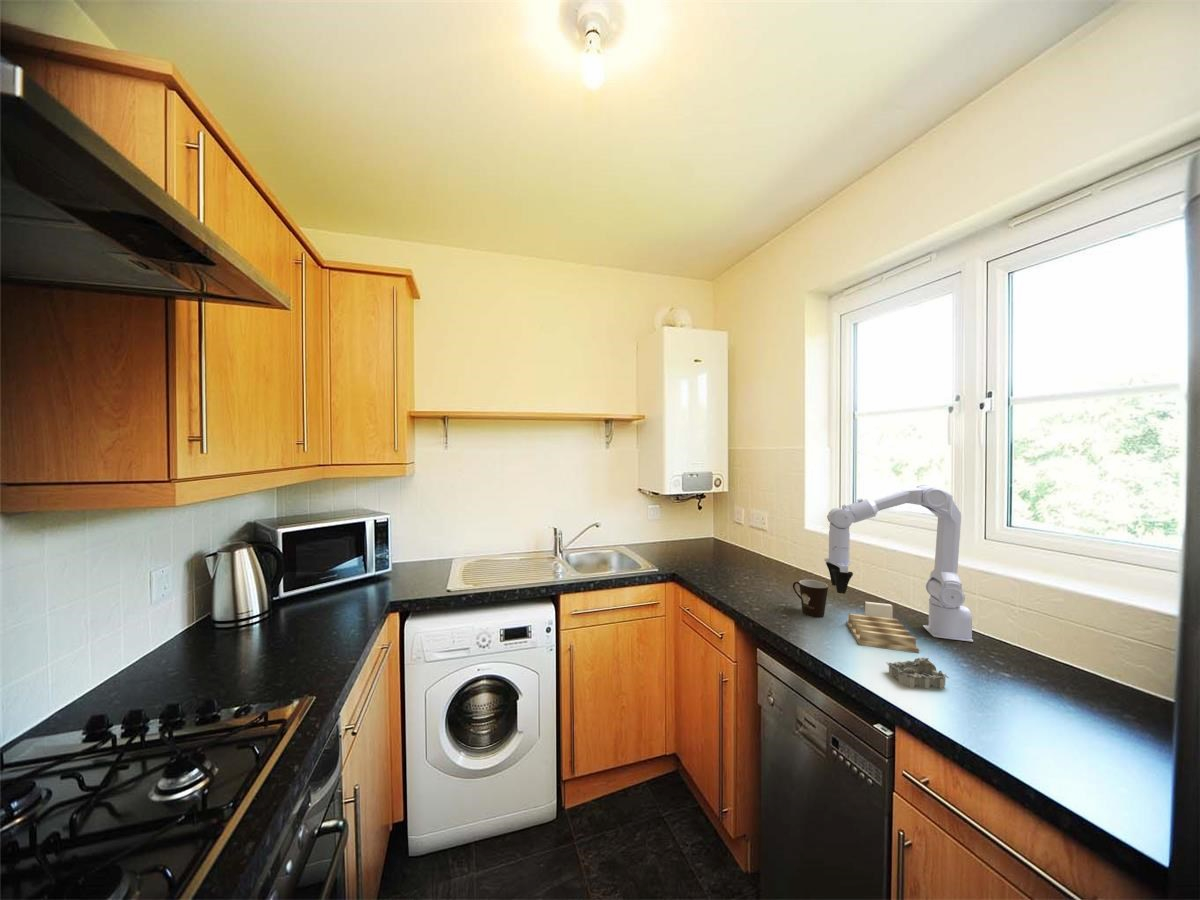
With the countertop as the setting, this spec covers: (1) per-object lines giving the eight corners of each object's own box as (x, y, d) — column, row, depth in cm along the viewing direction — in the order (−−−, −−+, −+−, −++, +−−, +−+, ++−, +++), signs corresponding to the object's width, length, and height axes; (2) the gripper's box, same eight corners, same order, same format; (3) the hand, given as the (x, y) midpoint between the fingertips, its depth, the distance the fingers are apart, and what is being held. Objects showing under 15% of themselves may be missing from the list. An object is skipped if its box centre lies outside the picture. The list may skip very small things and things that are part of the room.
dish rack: (898, 630, 127) (898, 618, 127) (918, 652, 113) (919, 639, 113) (846, 623, 132) (846, 612, 132) (859, 644, 117) (859, 632, 117)
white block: (890, 623, 132) (890, 604, 132) (892, 625, 131) (892, 606, 131) (865, 620, 135) (865, 601, 135) (866, 622, 133) (866, 603, 133)
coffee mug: (833, 619, 135) (833, 588, 135) (806, 619, 135) (806, 587, 135) (815, 605, 146) (815, 577, 146) (790, 605, 146) (790, 576, 146)
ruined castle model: (929, 674, 103) (929, 657, 103) (952, 691, 95) (952, 673, 95) (883, 671, 104) (883, 654, 104) (902, 688, 96) (903, 670, 96)
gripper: (820, 540, 142) (820, 580, 142) (829, 550, 128) (829, 595, 128) (844, 542, 139) (843, 583, 140) (856, 552, 126) (855, 597, 126)
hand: (838, 589), depth 134 cm, fingers open, 7 cm apart
